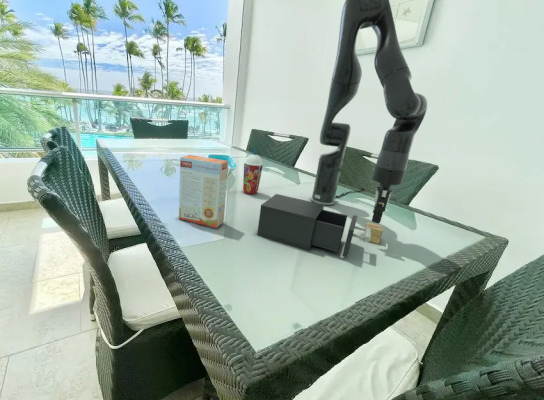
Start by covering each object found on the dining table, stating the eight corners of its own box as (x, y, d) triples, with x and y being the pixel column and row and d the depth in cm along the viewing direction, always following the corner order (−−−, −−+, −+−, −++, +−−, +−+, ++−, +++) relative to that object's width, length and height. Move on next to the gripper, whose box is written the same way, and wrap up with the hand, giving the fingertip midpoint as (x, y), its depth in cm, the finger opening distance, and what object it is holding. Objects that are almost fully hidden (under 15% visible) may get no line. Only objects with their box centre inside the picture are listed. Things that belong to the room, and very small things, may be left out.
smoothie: (263, 193, 124) (268, 149, 117) (251, 196, 118) (257, 150, 111) (248, 188, 129) (253, 146, 122) (237, 191, 123) (241, 147, 116)
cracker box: (224, 222, 90) (229, 160, 83) (216, 229, 85) (220, 163, 78) (187, 213, 95) (190, 153, 88) (178, 219, 90) (179, 156, 83)
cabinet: (318, 232, 88) (324, 204, 85) (309, 250, 76) (315, 218, 73) (272, 220, 95) (276, 193, 92) (257, 234, 83) (260, 204, 80)
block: (363, 234, 89) (366, 222, 88) (378, 238, 87) (382, 225, 86) (362, 239, 86) (366, 226, 84) (378, 244, 84) (382, 230, 82)
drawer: (366, 243, 81) (373, 219, 78) (364, 262, 70) (372, 235, 68) (303, 226, 89) (307, 204, 87) (293, 241, 79) (297, 216, 76)
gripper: (376, 161, 86) (364, 208, 91) (375, 167, 74) (361, 222, 80) (404, 165, 83) (389, 214, 88) (407, 172, 71) (390, 229, 76)
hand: (376, 218), depth 84 cm, fingers open, 8 cm apart
